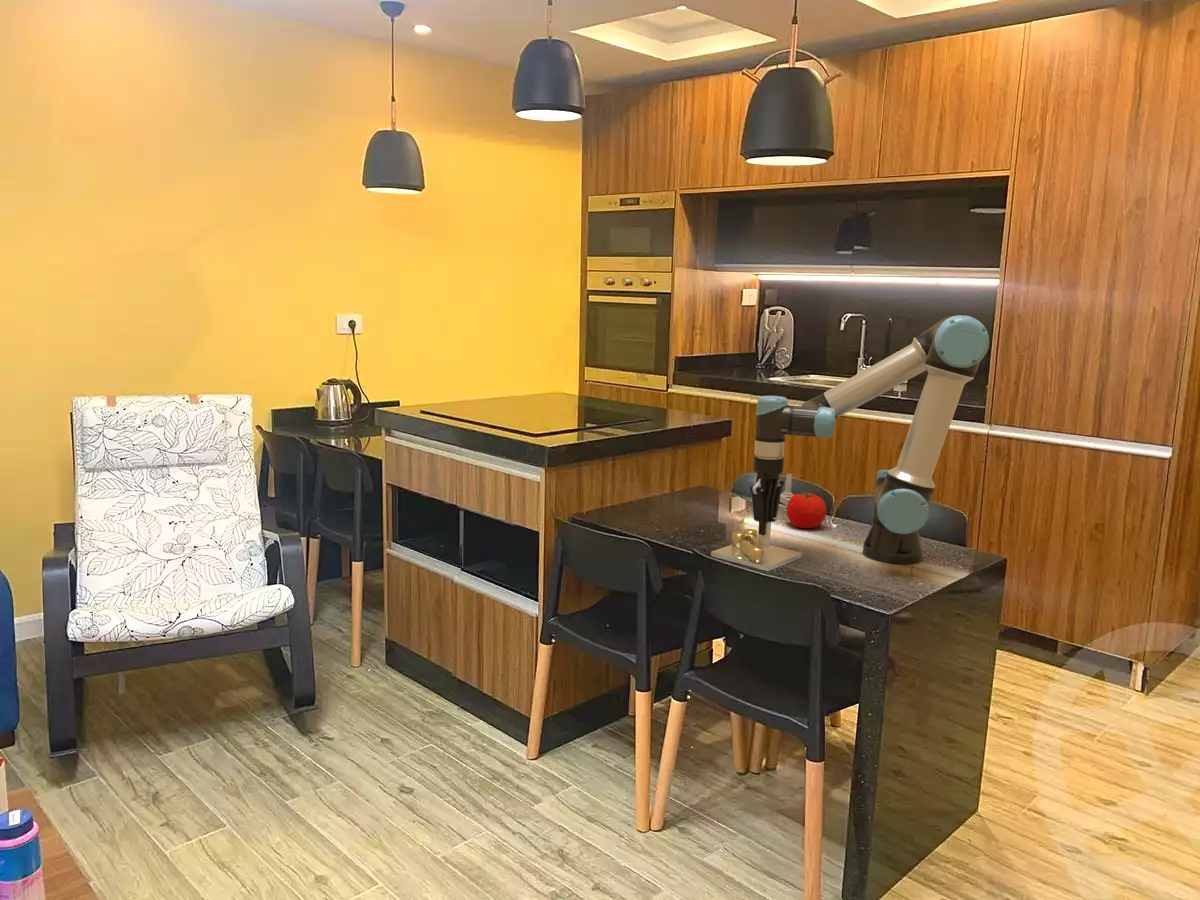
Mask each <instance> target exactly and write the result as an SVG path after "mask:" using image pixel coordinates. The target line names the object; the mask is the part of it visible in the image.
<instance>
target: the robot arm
mask: <svg viewBox="0 0 1200 900" xmlns="http://www.w3.org/2000/svg"><path fill="white" fill-rule="evenodd" d="M989 346H990V337H989V333H988V330H987V328H986V326H984V324H983V323H982V322H981V321H980V320H978V319H977V318H975V317H972V316H970V315H964V314H952V315H948V316H946V317H944V318H942V319H941V320H938V321H937V322H936V323H935V324H934V325H932V326H931V327H930V328H928V329H926V330H924V331H923V332H922V333H920V334H919V335H916V336H915V337H913V339H912V342H911V344H909V345H907V346H905V347H903V348H902V349H900V350H898V351H896V352H894V353H893V354H891V355H889V356H887V357H885V358H884V359H882V360H880V361H879V362H877V363H875V364H873V365H871V366H869V367H868V368H866V369H864V370H862V371H860V372H859V373H857V374H855V375H853V376H852V377H850V378H848V379H846V380H845V381H843V382H841V383H838V384H837V385H835V386H833V387H831V388H830V389H828V390H826V391H825V392H823V393H822V394H820V395H817V396H816V397H813V398H811V399H809V400H808V399H807V401H804V402H803V403H801V405H792V404H789V402H788V398H787V397H785V396H779V395H762V396H760V397H759V398H758V399H757V404H756V413H755V432H754V433H755V436H754V438H755V441H754V455H755V456H754V458H753V471H754V472H755V473H756V474H757V475H756V479H755V482H756V483H755V484H754V485H751V486H750V488H749V490H750V493H751V500H752V501H751V502H752V503H751V504H752V511H753V512H752V513H753V520H754V521H755V522H758V530H757V531H758V532H757V540H758V541H759V546H762V547H766V548H767V547H770V545H771V533H772V532H771V530H772V529H771V528H772V523H775V522H776V518H777V517H778V512H779V511H778V510H779V506H780V502H779V501H780V495H781V493H782V490H783V486H785V485H784V484H785V481H784V480H780V474H781V473H783V472H784V461H785V460H784V458H783V457H784V456H785V447H786V446H785V445H786V444H785V443H786V435H788V436H800V437H811V438H812V437H813V438H819V439H821V438H832V437H833V436H834V434H835V424H836V423H835V422H836V420H837V419H838V418H841V416H844V415H845V414H847V413H849V412H851V411H852V410H855V409H856V408H859V407H860V406H862V405H865V404H866V403H867V402H870V401H871V400H873V399H875V398H878V397H879V396H880V395H883V394H884V393H886V392H889V391H890V390H891V389H894V388H895V387H898V386H900V385H901V384H903V383H905V382H907V381H908V380H910V379H912V378H914V377H916V376H918V375H919V374H921V373H924V372H925V371H927V376H926V380H925V382H924V385H923V388H922V390H921V394H920V397H919V400H918V402H917V405H916V409H915V412H914V414H913V418H912V420H911V423H910V426H909V429H908V432H907V435H906V437H905V441H904V443H903V445H902V449H901V452H900V454H899V458H898V461H897V464H896V466H894V467H893V468H891V469H879V470H878V471H877V473H876V478H875V480H874V481H875V491H874V500H873V510H872V511H873V513H872V520H871V521H872V522H871V526H870V528H869V531H868V534H867V535H866V536H865V537H866V538H865V540H864V541H863V547H862V553H863V555H864V556H866V557H868V558H869V559H872V560H876V561H878V562H879V561H880V562H884V563H891V564H899V565H901V564H902V565H903V564H905V565H906V564H908V565H909V564H917V563H920V562H921V561H923V556H924V555H923V554H924V550H923V545H922V541H921V537H920V533H919V530H920V529H922V527H924V525H925V524H926V522H927V521H928V518H929V516H930V515H929V514H930V513H929V512H930V508H929V506H930V503H931V500H932V498H933V495H934V491H935V488H936V484H935V482H934V480H933V474H934V472H935V468H936V466H937V463H938V461H939V458H940V455H941V452H942V450H943V447H944V443H945V441H946V439H947V436H948V435H947V434H948V432H949V429H950V428H951V427H950V426H951V424H952V420H953V419H954V415H955V412H956V409H957V407H958V404H959V401H960V398H961V395H962V394H963V393H962V392H963V390H964V387H965V385H966V384H967V383H968V382H970V381H972V380H974V378H975V376H976V374H977V371H978V368H979V366H980V363H981V361H982V360H983V359H984V357H985V356H986V354H987V352H988V349H989V348H990V347H989Z"/></svg>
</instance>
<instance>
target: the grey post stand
mask: <svg viewBox="0 0 1200 900" xmlns="http://www.w3.org/2000/svg"><path fill="white" fill-rule="evenodd" d="M785 478H786V479H785V482H784V484H785V485H784V491H782V492H781V495H780V501H779V503H781V504H783V505H784V506H786V507H787V505H788V501H789V500H790V499H791V497H792V496H793V495H794V493H793V492H792V485H793V483H792V481H793V473H789V472H788V473H786V477H785Z"/></svg>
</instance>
